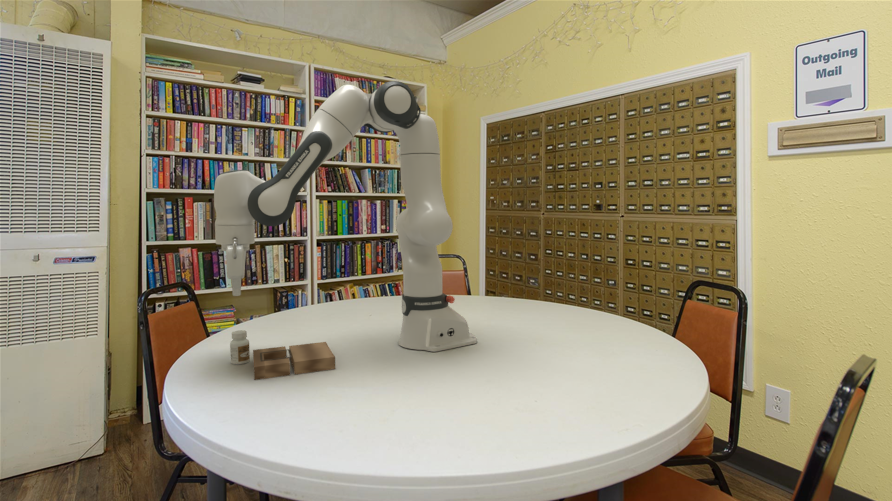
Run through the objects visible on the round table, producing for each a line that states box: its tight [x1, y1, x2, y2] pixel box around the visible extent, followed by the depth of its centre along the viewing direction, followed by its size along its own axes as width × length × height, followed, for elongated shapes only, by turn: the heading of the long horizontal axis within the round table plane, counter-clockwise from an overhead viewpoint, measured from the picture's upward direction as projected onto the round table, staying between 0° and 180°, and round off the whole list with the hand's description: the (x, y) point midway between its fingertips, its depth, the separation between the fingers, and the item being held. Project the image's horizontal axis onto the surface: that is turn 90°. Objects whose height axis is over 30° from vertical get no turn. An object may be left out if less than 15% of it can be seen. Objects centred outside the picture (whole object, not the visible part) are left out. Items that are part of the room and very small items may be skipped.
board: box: [252, 341, 336, 381], centre depth 116 cm, size 18×14×3 cm
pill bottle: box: [229, 329, 251, 365], centre depth 118 cm, size 4×4×8 cm
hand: (237, 292), depth 117 cm, fingers open, 8 cm apart
